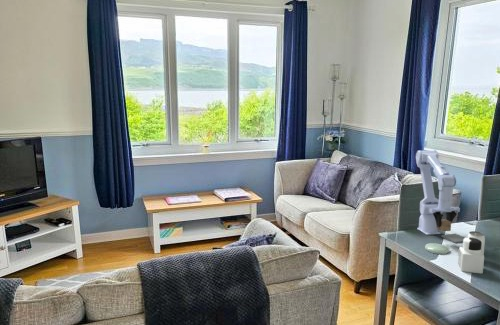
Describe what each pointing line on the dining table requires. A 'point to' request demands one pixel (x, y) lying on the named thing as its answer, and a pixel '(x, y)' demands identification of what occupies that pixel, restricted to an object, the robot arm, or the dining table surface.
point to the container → (471, 256)
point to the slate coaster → (453, 238)
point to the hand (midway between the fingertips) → (443, 226)
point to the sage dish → (436, 248)
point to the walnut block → (444, 225)
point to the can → (478, 236)
